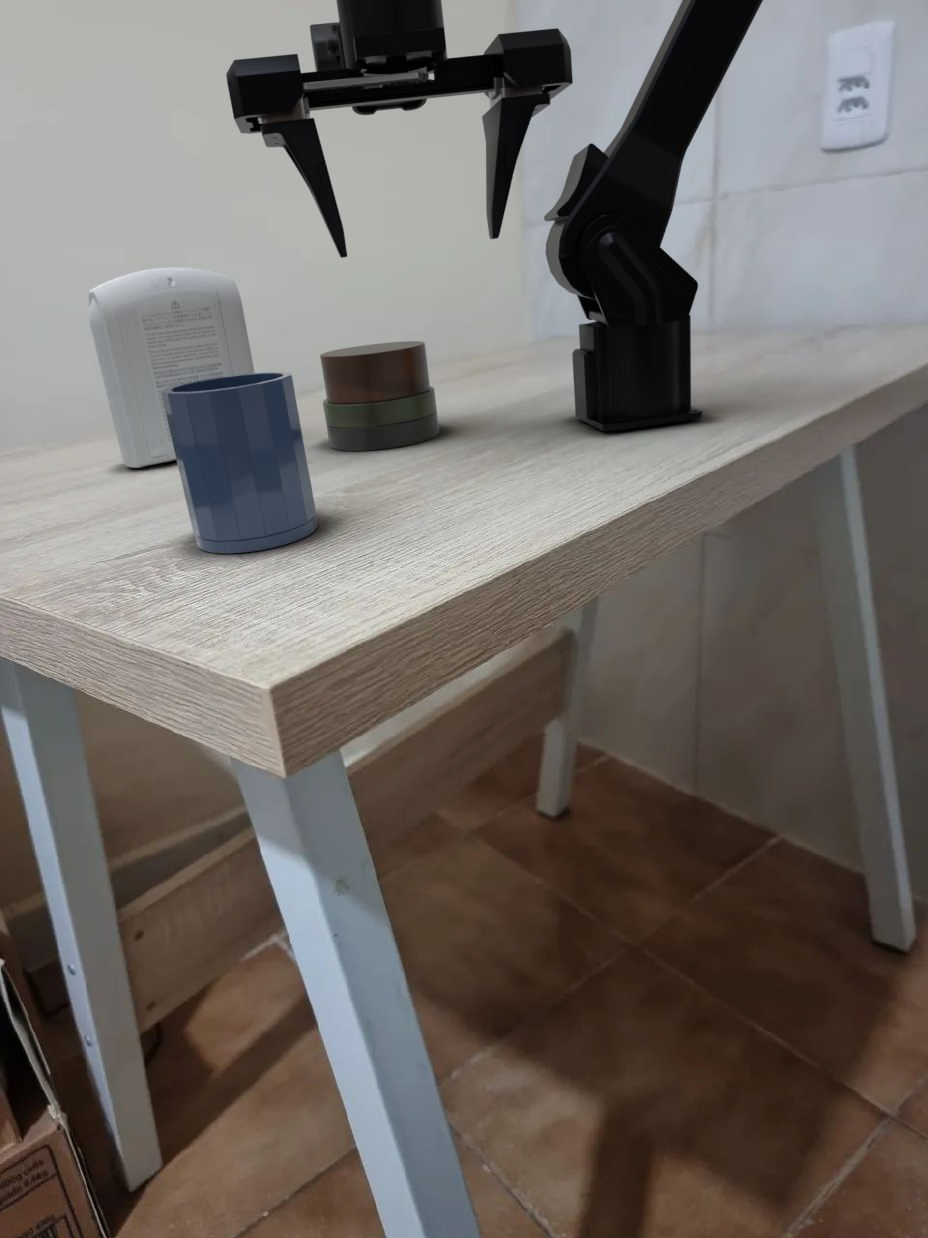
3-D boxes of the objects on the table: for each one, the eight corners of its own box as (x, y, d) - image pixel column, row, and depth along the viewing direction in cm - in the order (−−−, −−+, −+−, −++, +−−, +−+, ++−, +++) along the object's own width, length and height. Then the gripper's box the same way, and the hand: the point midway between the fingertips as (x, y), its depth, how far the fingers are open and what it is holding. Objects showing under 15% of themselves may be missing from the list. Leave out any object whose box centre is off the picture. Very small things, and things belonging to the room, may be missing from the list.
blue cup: (316, 510, 44) (291, 367, 41) (319, 541, 39) (291, 380, 36) (203, 527, 43) (170, 382, 40) (191, 561, 38) (152, 398, 35)
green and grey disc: (430, 422, 64) (425, 380, 63) (447, 440, 57) (442, 393, 56) (327, 436, 63) (320, 394, 62) (332, 456, 56) (324, 409, 55)
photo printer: (256, 437, 66) (221, 262, 62) (277, 443, 63) (242, 258, 58) (118, 465, 62) (69, 278, 57) (133, 473, 58) (83, 274, 53)
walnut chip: (422, 381, 63) (417, 338, 62) (437, 393, 56) (431, 345, 55) (325, 394, 62) (318, 350, 61) (329, 408, 55) (321, 359, 54)
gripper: (517, -34, 55) (538, 235, 61) (218, -7, 53) (270, 268, 59) (564, -105, 45) (583, 226, 51) (196, -75, 43) (261, 266, 49)
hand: (419, 247), depth 53 cm, fingers open, 9 cm apart
